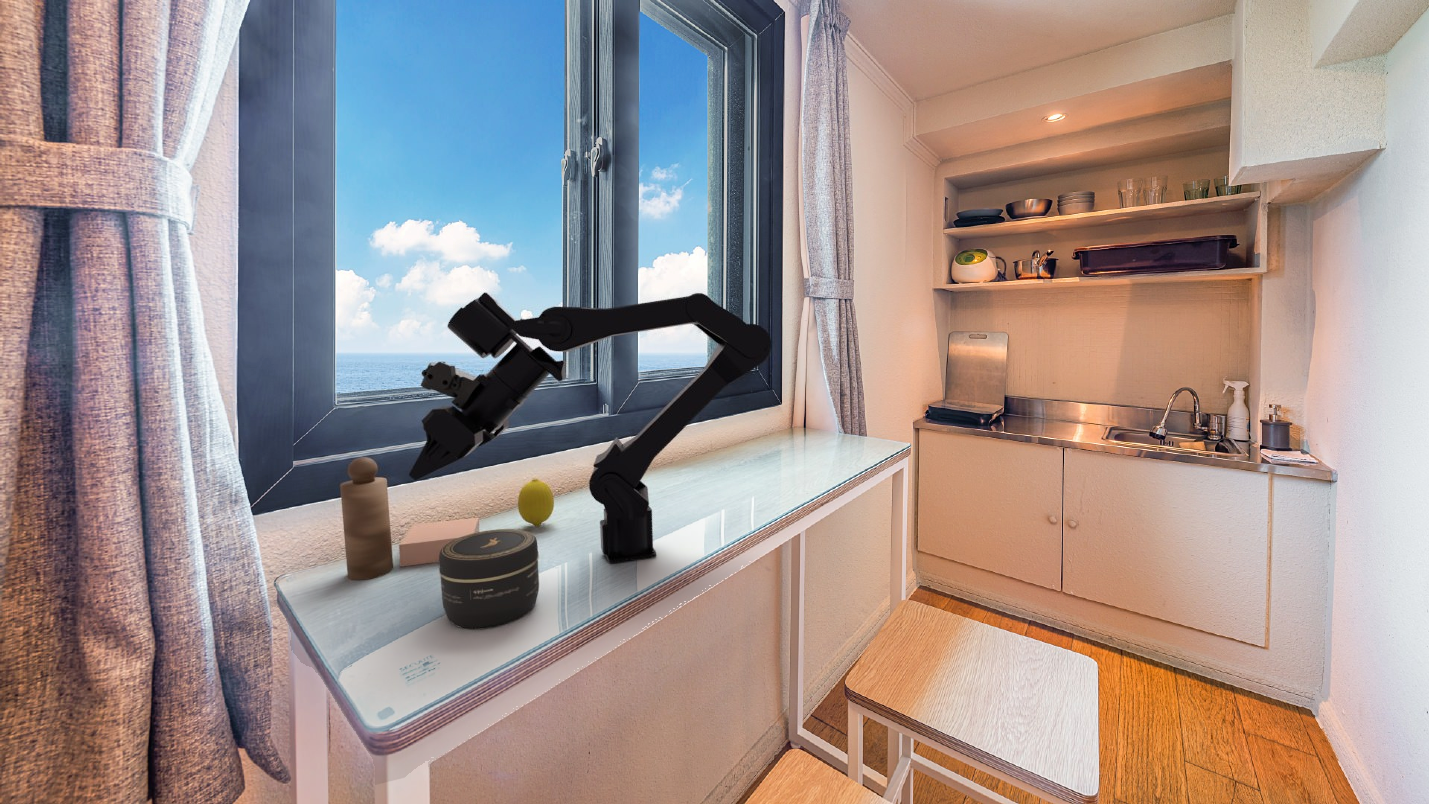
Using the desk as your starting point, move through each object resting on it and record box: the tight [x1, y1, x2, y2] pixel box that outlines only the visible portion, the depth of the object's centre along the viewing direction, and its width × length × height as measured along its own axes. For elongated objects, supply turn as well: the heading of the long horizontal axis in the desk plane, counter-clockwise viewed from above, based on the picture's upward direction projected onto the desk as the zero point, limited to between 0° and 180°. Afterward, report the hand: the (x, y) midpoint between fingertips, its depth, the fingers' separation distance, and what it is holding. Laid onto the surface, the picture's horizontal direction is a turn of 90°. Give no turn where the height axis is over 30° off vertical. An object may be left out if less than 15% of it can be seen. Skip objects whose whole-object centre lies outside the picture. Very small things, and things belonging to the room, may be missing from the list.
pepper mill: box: [339, 456, 394, 581], centre depth 68 cm, size 5×5×15 cm
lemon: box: [517, 478, 555, 528], centre depth 86 cm, size 6×6×8 cm
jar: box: [438, 528, 540, 630], centre depth 58 cm, size 10×10×8 cm
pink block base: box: [398, 517, 480, 568], centre depth 76 cm, size 9×9×3 cm
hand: (426, 469), depth 69 cm, fingers open, 9 cm apart
